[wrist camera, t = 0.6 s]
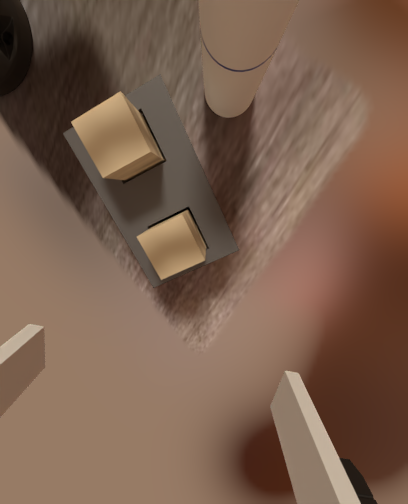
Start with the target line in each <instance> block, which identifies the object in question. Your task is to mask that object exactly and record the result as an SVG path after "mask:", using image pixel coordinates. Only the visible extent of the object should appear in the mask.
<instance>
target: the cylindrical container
mask: <svg viewBox="0 0 408 504" xmlns="http://www.w3.org/2000/svg"><path fill="white" fill-rule="evenodd" d="M298 2H299V0H198V3H199V18H200V34H201V49H202V65H203V80H204V93H205V98H206V102H207V104H208V106H209V107H210V108H211V110H212V111H213V112H214V113H215V114H217V115H219V116H221V117H225V118H232V117H236V116H239V115H240V114H242V113H243V112H245V111H246V110H247V109H248V107H249V106H250V104H251V102H252V100H253V98H254V96H255V94H256V92H257V90H258V88H259V86H260V83H261V81H262V79H263V77H264V75H265V73H266V71H267V69H268V66H269V64H270V62H271V60H272V58H273V56H274V54H275V51H276V49H277V47H278V45H279V43H280V41H281V38H282V36H283V34H284V32H285V30H286V28H287V26H288V24H289V21H290V19H291V17H292V15H293V13H294V11H295V9H296V7H297V4H298Z"/></svg>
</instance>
